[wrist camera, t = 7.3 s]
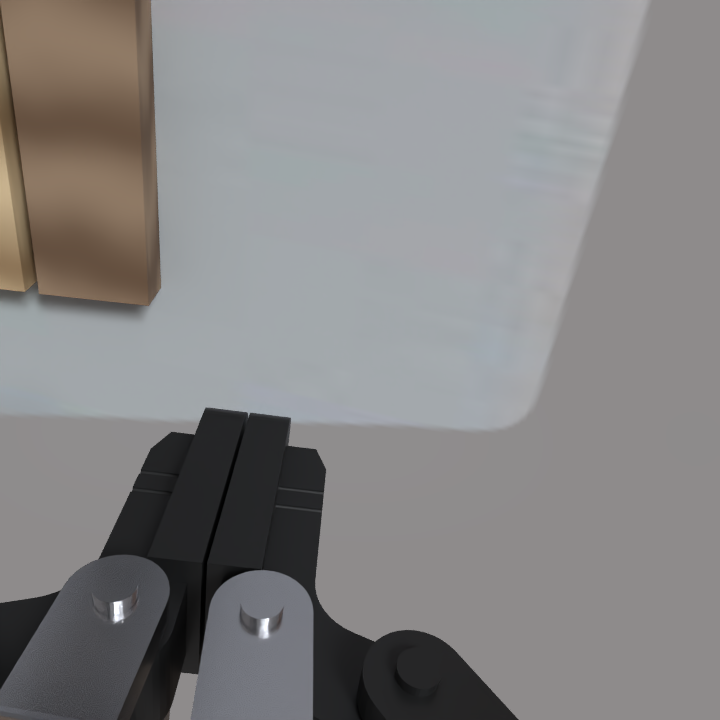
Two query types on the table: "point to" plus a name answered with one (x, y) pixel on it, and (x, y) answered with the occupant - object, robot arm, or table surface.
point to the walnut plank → (87, 144)
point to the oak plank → (12, 193)
